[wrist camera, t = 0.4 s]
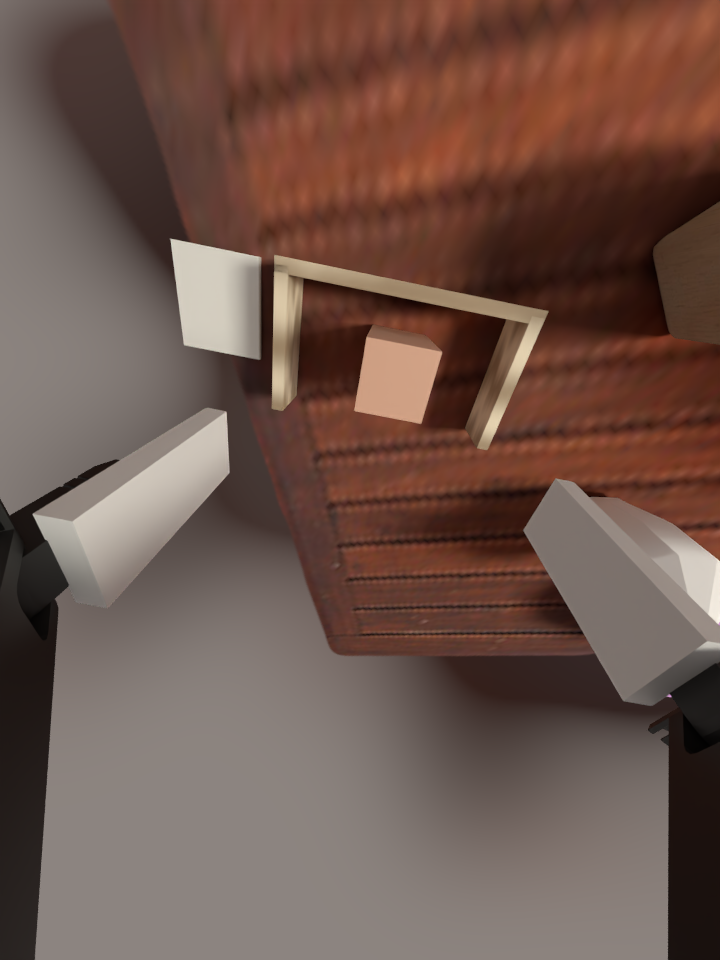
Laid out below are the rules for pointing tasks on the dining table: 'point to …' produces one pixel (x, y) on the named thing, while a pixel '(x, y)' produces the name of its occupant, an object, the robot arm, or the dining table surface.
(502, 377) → the frame
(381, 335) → the terracotta block
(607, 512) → the vase
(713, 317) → the wooden block
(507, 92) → the dining table surface
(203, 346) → the white tile
